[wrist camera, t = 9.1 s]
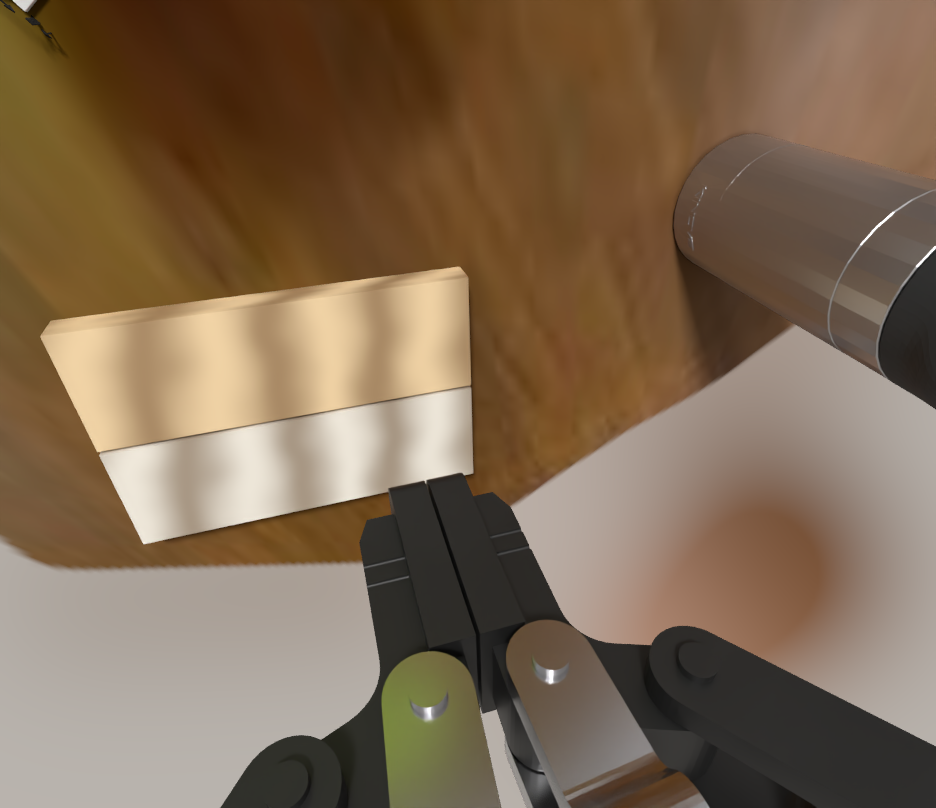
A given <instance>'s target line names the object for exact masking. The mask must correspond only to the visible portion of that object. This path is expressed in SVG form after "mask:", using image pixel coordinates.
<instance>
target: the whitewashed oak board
mask: <svg viewBox="0 0 936 808" xmlns="http://www.w3.org/2000/svg"><path fill="white" fill-rule="evenodd" d="M99 456H100V458H101V460H102V462H103V464H104V466H105V468H106V470H107V472H108V474H109V476H110V478H111V480H112V482H113V484H114V486H115V488H116V490H117V492H118V494H119V496H120V498H121V500H122V502H123V504H124V506H125V508H126V510H127V512H128V514H129V516H130V518H131V520H132V522H133V524H134V526H135V528H136V530H137V532H138V534H139V536H140V538H141V540H142V542H143V544H147V543H151V542H156V541H161V540H165V539H170V538H175V537H179V536H184V535H189V534H193V533H198V532H203V531H207V530H212V529H217V528H221V527H226V526H231V525H235V524H240V523H245V522H249V521H254V520H259V519H263V518H268V517H273V516H277V515H282V514H287V513H291V512H296V511H301V510H305V509H310V508H315V507H319V506H324V505H329V504H333V503H338V502H343V501H347V500H352V499H357V498H361V497H366V496H371V495H375V494H380V493H385V492H388V488H391V487H396V486H400V485H405V484H410V483H414V482H419V481H425V483H426V480H428V479H433V478H437V477H442V476H447V475H452V474H456V473H463V475H469V474H473V443H472V401H471V387H470V385H469V386H463V387H458V388H452V389H446V390H441V391H435V392H430V393H424V394H419V395H413V396H407V397H402V398H396V399H391V400H385V401H380V402H374V403H368V404H363V405H357V406H352V407H346V408H341V409H335V410H330V411H324V412H318V413H313V414H307V415H302V416H296V417H291V418H285V419H279V420H274V421H268V422H263V423H257V424H252V425H246V426H240V427H235V428H229V429H224V430H218V431H213V432H207V433H202V434H196V435H190V436H185V437H179V438H174V439H168V440H163V441H157V442H151V443H146V444H140V445H135V446H129V447H124V448H118V449H112V450H107V451H101V453H100V455H99Z"/></svg>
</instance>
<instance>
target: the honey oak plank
mask: <svg viewBox="0 0 936 808" xmlns="http://www.w3.org/2000/svg"><path fill="white" fill-rule="evenodd" d="M40 337H41V339H42V341H43V343H44V345H45V347H46V349H47V351H48V353H49V355H50V357H51V359H52V361H53V363H54V365H55V367H56V369H57V371H58V374H59V376H60V378H61V380H62V382H63V384H64V386H65V388H66V390H67V392H68V394H69V396H70V398H71V400H72V402H73V404H74V406H75V408H76V410H77V412H78V414H79V416H80V418H81V420H82V422H83V424H84V426H85V428H86V430H87V432H88V434H89V436H90V438H91V440H92V442H93V444H94V446H95V448H96V450H97V452H101V451H107V450H112V449H118V448H124V447H129V446H135V445H140V444H146V443H151V442H157V441H163V440H168V439H174V438H179V437H185V436H190V435H196V434H202V433H207V432H213V431H218V430H224V429H229V428H235V427H240V426H246V425H252V424H257V423H263V422H268V421H274V420H279V419H285V418H291V417H296V416H302V415H307V414H313V413H318V412H324V411H330V410H335V409H341V408H346V407H352V406H357V405H363V404H368V403H374V402H380V401H385V400H391V399H396V398H402V397H407V396H413V395H419V394H424V393H430V392H435V391H441V390H446V389H452V388H458V387H463V386H469V385H471V363H470V326H469V290H468V277H467V275H466V274H465V273H464V272H463V270H462V269H461V268H460V267H453V268H446V269H438V270H431V271H423V272H416V273H408V274H401V275H393V276H386V277H378V278H371V279H363V280H356V281H348V282H340V283H333V284H325V285H318V286H310V287H303V288H295V289H288V290H280V291H273V292H265V293H258V294H250V295H243V296H235V297H227V298H220V299H212V300H205V301H197V302H190V303H182V304H175V305H167V306H160V307H152V308H145V309H137V310H130V311H122V312H114V313H107V314H99V315H92V316H84V317H77V318H69V319H62V320H54V321H50V323H49V324H48V326H47V327H46V329H45V330H44V331H43V333H42V334H41V336H40Z"/></svg>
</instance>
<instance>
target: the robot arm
mask: <svg viewBox="0 0 936 808" xmlns="http://www.w3.org/2000/svg"><path fill="white" fill-rule="evenodd" d="M674 233H675V239H676V242H677V244H678V247H679V249H680V250H681V252H682V253H683V255H684V256H685V257H686V258H687V259H689V260H690V261H691V262H693V263H694V264H696V265H697V266H699V267H701V268H702V269H704V270H706V271H707V272H709V273H711V274H712V275H714V276H716V277H717V278H719V279H721V280H722V281H724V282H725V283H727V284H729V285H730V286H732V287H734V288H735V289H737V290H739V291H740V292H742V293H744V294H745V295H747V296H749V297H750V298H752V299H754V300H755V301H757V302H759V303H760V304H762V305H764V306H766V307H767V308H769V309H771V310H772V311H774V312H776V313H777V314H779V315H781V316H782V317H784V318H786V319H787V320H789V321H791V322H792V323H794V324H796V325H797V326H800V327H801V328H802V329H804V330H806V331H808V332H809V333H811V334H813V335H814V336H816V337H818V338H819V339H821V340H823V341H824V342H826V343H828V344H829V345H831V346H833V347H834V348H836V349H838V350H840V351H841V352H843V353H845V354H846V355H848V356H850V357H852V358H853V359H855V360H857V361H858V362H860V363H862V364H863V365H865V366H867V367H868V368H870V369H872V370H873V371H875V372H877V373H878V374H880V375H882V376H883V377H885V378H887V379H888V380H890V381H891V382H893V383H895V384H896V385H898V386H900V387H901V388H903V389H905V390H906V391H908V392H910V393H912V394H913V395H915V396H917V397H918V398H920V399H921V400H923V401H924V402H926V403H927V404H929V405H930V406H932V407H933V408H935V409H936V180H933V179H929V178H925V177H921V176H917V175H914V174H910V173H906V172H902V171H898V170H895V169H891V168H887V167H883V166H879V165H875V164H872V163H868V162H864V161H860V160H856V159H852V158H849V157H845V156H841V155H837V154H833V153H829V152H826V151H822V150H818V149H814V148H810V147H807V146H804V145H800V144H796V143H792V142H788V141H784V140H780V139H777V138H773V137H769V136H764V135H760V134H744V135H740V136H737V137H734V138H731V139H729V140H727V141H725V142H724V143H722V144H720V145H718V146H717V147H716V148H714V149H713V150H712V151H711V152H710V153H708V154H707V155H706V156H705V157H704V158H703V159H702V160H701V161H700V162H699V164H698V165H697V166H696V167H695V168H694V170H693V171H692V173H691V174H690V176H689V177H688V179H687V180H686V182H685V184H684V186H683V188H682V191H681V193H680V195H679V198H678V201H677V205H676V209H675V215H674ZM388 492H389V499H390V506H391V513H392V515H388V516H383V517H379V518H374V519H370V520H367V522H366V525H365V528H364V531H363V534H362V537H361V540H360V542H359V543H360V548H361V554H362V560H363V566H364V572H365V577H366V583H367V589H368V595H369V601H370V607H371V613H372V619H373V625H374V631H375V636H376V642H377V648H378V654H379V660H380V676H379V680H378V684H377V687H376V690H375V692H374V694H373V695H372V697H371V699H370V701H369V702H368V703H367V705H366V706H365V707H364V708H363V709H362V710H361V711H360V713H358V715H356V716H355V717H354V718H352V719H351V720H350V721H349V722H347V723H346V724H344V725H343V726H341V727H340V728H338V729H337V730H335V731H334V732H332V733H331V734H329V735H328V736H326V737H325V738H323V739H322V740H320V739H317V738H314V737H311V736H304V735H299V736H291V737H287V738H284V739H281V740H279V741H277V742H275V743H273V744H271V745H270V746H268V747H267V748H265V749H264V750H263V751H262V752H260V753H259V754H258V755H257V756H256V757H255V758H254V759H253V760H252V762H251V763H250V765H249V766H248V767H247V768H246V770H245V771H244V773H243V774H242V776H241V778H240V779H239V780H238V782H237V783H236V785H235V787H234V788H233V790H232V791H231V793H230V794H229V796H228V797H227V799H226V800H225V802H224V803H223V805H222V806H221V808H501V804H500V799H499V795H498V790H497V786H496V781H495V777H494V772H493V768H492V763H491V759H490V754H489V749H488V746H487V740H486V736H485V732H484V727H483V723H482V718H481V713H480V707H481V711H482V713H486V712H490V711H493V710H496V709H497V712H498V715H499V718H500V721H501V724H502V727H503V730H504V733H505V751H506V755H507V759H508V762H509V764H510V767H511V769H512V772H513V774H514V777H515V779H516V782H517V784H518V787H519V790H520V792H521V795H522V797H523V800H524V802H525V805H526V807H527V808H936V746H934V745H932V744H930V743H928V742H926V741H924V740H922V739H920V738H918V737H916V736H914V735H912V734H910V733H908V732H906V731H904V730H902V729H900V728H898V727H896V726H894V725H892V724H890V723H888V722H886V721H884V720H882V719H880V718H878V717H876V716H874V715H872V714H870V713H868V712H866V711H864V710H862V709H861V708H859V707H857V706H854V705H852V704H851V703H848V702H847V701H845V700H843V699H841V698H839V697H837V696H835V695H833V694H831V693H829V692H827V691H825V690H823V689H821V688H819V687H817V686H815V685H813V684H811V683H809V682H807V681H805V680H803V679H801V678H799V677H797V676H795V675H793V674H791V673H789V672H787V671H785V670H783V669H781V668H779V667H777V666H775V665H773V664H771V663H769V662H768V661H766V660H764V659H761V658H759V657H758V656H756V655H754V654H752V653H750V652H748V651H746V650H744V649H742V648H740V647H738V646H736V645H734V644H732V643H730V642H728V641H726V640H724V639H722V638H720V637H718V636H716V635H714V634H712V633H710V632H708V631H705V630H703V629H700V628H696V627H690V626H677V627H672V628H669V629H666V630H665V631H663V632H661V633H660V634H659V635H658V636H657V637H656V638H655V639H654V641H653V643H652V645H634V644H614V643H605V642H602V641H598V640H595V639H592V638H590V637H588V636H586V635H584V634H582V633H581V632H580V631H578V630H577V629H575V628H574V627H573V626H572V625H571V624H570V623H569V622H568V621H567V619H566V618H565V617H564V615H563V613H562V612H561V610H560V608H559V606H558V604H557V602H556V600H555V598H554V596H553V594H552V591H551V589H550V587H549V585H548V583H547V581H546V579H545V577H544V575H543V573H542V571H541V569H540V567H539V565H538V563H537V560H536V558H535V556H534V554H533V552H532V550H531V549H530V548H529V544H528V542H527V540H526V538H525V536H524V534H523V532H522V531H521V528H520V526H519V523H518V521H517V519H516V517H515V515H514V513H513V511H512V509H511V507H510V506H508V505H507V504H506V503H505V502H504V501H502V500H501V499H500V498H499V497H498V496H496V495H495V494H494V493H493V492H491V493H487V494H482V495H477V496H473V495H472V493H471V491H470V488H469V486H468V484H467V481H466V479H465V477H464V475H463V473H456V474H452V475H447V476H442V477H437V478H433V479H428V480H426V483H425V481H419V482H414V483H410V484H405V485H400V486H396V487H391V488H388ZM479 704H480V705H479Z"/></svg>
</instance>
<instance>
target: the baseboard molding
mask: <svg viewBox="0 0 936 808" xmlns="http://www.w3.org/2000/svg"><path fill="white" fill-rule="evenodd" d="M0 1H1V2H2V3H4V2H3V1H2V0H0ZM13 1H14V2H15V3H16V4H17V5H18V6H19V7H20V8H21V9H23V10H24V11H25V12H28V11H29V10H30V8H31V7H32V6H33V5H34V3H35V2H36V1H37V0H13ZM4 4H5V5H4V6H5V7H6V8H8V9H9V10H11V11H12V12H14V13H15V11H14V10H13V9H12V7H11V6H10V5H7V4H6V3H4ZM32 17H33V16H32V15H31V18H25V19H26V20H27V21H28V22H29V23H31V24H32V25H40V23H39V22H38V21H37V20H36V19H34V18H32ZM42 31H43V30H42ZM43 33H44V34H45V35H46V36H48V37H49V38H51V37H50V36H49V35H48V34H52V33H46V32H45V31H43ZM51 39H52V38H51Z"/></svg>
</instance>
